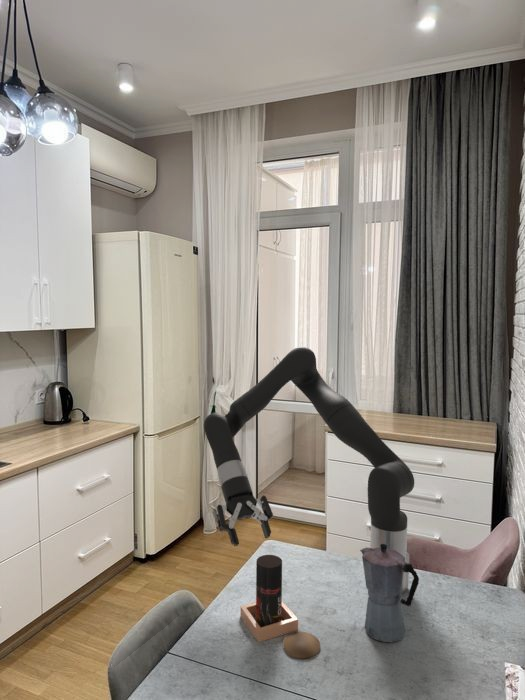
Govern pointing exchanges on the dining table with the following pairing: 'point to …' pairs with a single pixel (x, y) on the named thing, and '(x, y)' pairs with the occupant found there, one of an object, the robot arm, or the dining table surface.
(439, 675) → the dining table surface
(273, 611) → the deodorant
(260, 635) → the orange square frame
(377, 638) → the moka pot
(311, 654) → the coaster
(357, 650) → the dining table surface
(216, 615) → the dining table surface
